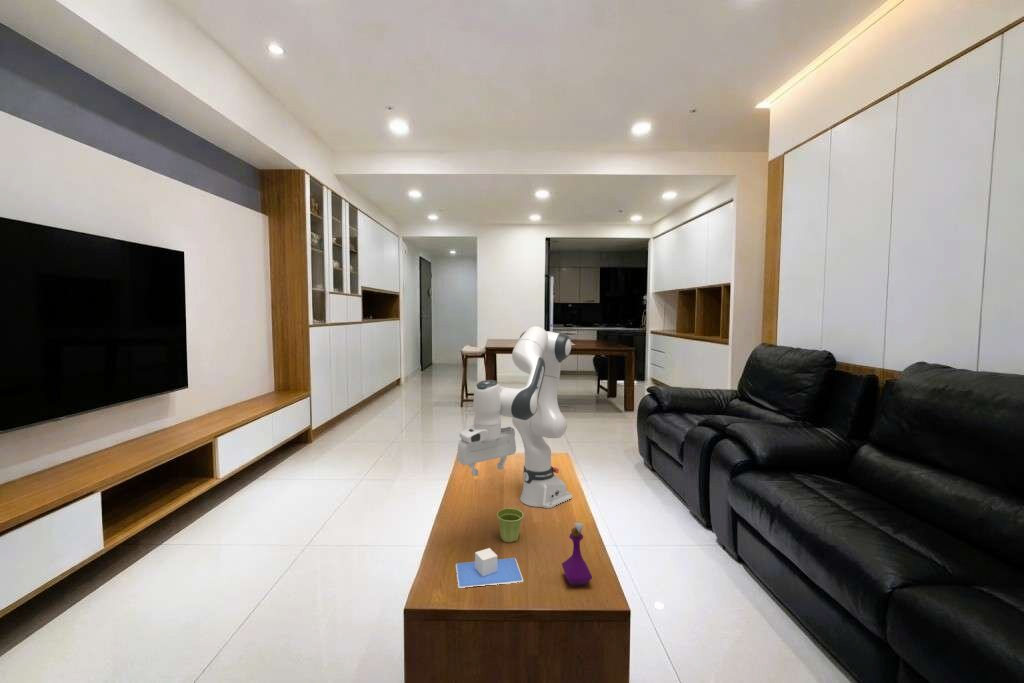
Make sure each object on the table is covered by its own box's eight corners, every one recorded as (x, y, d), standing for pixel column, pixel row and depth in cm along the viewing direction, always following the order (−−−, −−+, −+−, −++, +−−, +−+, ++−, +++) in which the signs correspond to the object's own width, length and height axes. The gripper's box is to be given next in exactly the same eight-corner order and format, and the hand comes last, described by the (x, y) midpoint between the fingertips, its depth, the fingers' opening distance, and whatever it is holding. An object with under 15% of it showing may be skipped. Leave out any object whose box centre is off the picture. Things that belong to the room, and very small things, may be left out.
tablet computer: (515, 560, 138) (515, 556, 138) (524, 584, 126) (524, 580, 126) (455, 566, 134) (455, 562, 134) (458, 592, 122) (458, 587, 122)
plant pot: (526, 534, 153) (526, 510, 153) (518, 547, 144) (518, 522, 144) (502, 529, 156) (502, 506, 156) (492, 542, 147) (492, 517, 147)
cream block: (489, 563, 134) (489, 547, 134) (497, 571, 130) (497, 555, 129) (474, 568, 131) (475, 552, 131) (482, 576, 127) (482, 560, 127)
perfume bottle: (561, 573, 130) (562, 516, 129) (585, 573, 131) (587, 515, 130) (566, 589, 123) (568, 528, 121) (592, 588, 123) (593, 528, 122)
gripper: (509, 423, 147) (509, 462, 148) (454, 433, 136) (455, 475, 138) (519, 428, 142) (519, 468, 143) (463, 438, 131) (464, 482, 132)
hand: (487, 472), depth 140 cm, fingers open, 8 cm apart
